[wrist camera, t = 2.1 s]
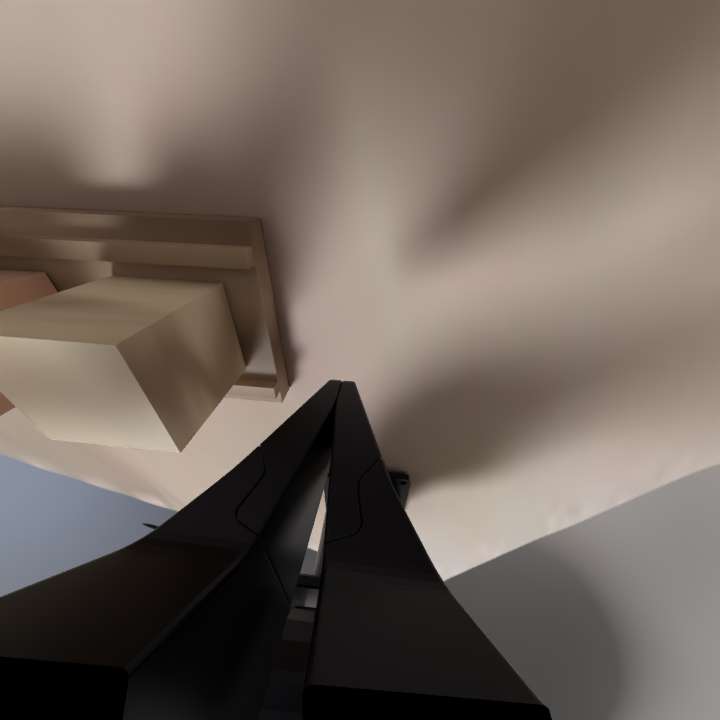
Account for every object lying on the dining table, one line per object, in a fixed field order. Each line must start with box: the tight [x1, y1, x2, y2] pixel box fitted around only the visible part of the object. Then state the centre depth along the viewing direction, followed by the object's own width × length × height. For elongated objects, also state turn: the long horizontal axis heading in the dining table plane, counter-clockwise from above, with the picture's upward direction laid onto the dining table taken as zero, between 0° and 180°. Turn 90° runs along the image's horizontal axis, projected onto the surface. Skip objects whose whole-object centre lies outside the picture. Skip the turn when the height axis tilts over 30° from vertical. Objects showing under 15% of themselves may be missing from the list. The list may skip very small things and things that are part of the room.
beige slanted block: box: [0, 276, 246, 453], centre depth 10 cm, size 4×5×5 cm
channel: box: [0, 206, 289, 403], centre depth 13 cm, size 9×22×2 cm, turn 88°
